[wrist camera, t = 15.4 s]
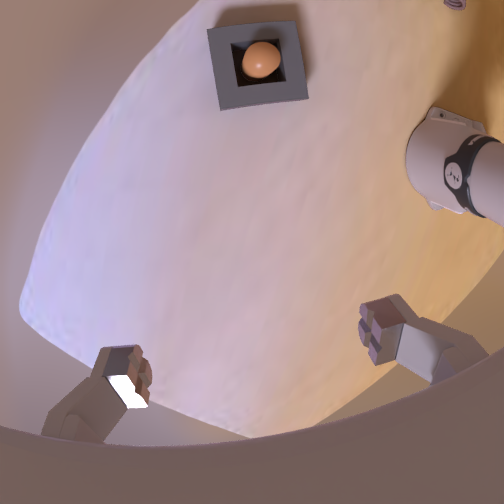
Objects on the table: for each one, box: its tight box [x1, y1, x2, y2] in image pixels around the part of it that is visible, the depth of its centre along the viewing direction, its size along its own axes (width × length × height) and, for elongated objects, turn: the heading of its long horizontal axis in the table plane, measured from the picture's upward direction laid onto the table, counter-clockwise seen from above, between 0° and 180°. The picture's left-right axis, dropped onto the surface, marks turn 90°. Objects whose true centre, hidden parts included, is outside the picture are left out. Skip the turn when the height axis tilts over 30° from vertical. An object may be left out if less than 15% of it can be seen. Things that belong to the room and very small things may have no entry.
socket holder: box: [207, 21, 309, 111], centre depth 32 cm, size 11×11×5 cm
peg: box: [240, 42, 281, 82], centre depth 31 cm, size 4×4×8 cm
